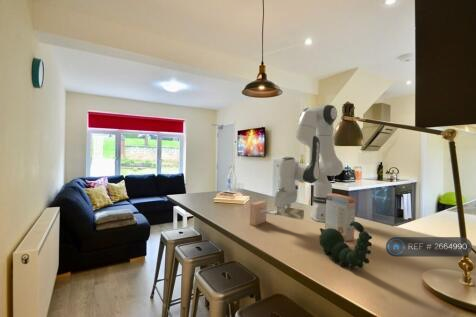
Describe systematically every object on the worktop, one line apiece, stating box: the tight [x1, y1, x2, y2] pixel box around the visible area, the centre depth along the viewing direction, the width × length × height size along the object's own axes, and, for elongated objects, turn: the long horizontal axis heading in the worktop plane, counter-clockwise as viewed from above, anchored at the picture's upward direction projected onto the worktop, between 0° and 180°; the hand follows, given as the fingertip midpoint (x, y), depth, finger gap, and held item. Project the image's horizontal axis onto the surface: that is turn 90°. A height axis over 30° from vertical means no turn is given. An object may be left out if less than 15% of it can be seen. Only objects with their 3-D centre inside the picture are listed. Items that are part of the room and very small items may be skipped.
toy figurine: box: [319, 220, 373, 270], centre depth 95 cm, size 9×19×25 cm
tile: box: [249, 200, 268, 227], centre depth 142 cm, size 4×12×12 cm, turn 143°
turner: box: [260, 206, 305, 221], centre depth 132 cm, size 24×6×4 cm, turn 53°
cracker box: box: [324, 192, 357, 242], centre depth 123 cm, size 14×6×21 cm, turn 22°
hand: (285, 212), depth 131 cm, fingers closed on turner, 3 cm apart
